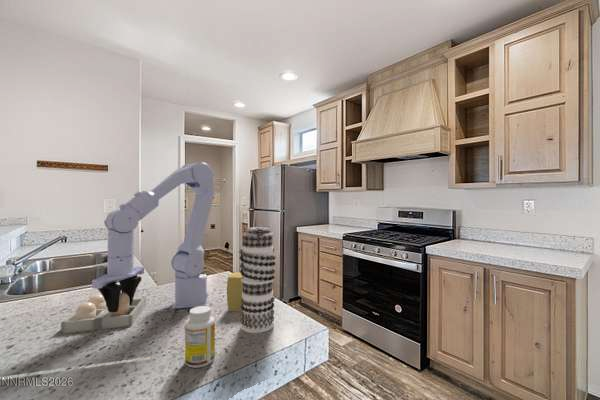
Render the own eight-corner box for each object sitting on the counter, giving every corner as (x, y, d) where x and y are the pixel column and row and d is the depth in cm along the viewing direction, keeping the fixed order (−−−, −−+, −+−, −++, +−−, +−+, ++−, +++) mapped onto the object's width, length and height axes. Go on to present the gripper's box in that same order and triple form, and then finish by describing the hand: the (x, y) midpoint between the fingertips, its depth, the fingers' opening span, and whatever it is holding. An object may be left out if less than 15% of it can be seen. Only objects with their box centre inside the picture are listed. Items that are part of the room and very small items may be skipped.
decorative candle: (238, 319, 74) (238, 226, 75) (272, 316, 77) (272, 226, 77) (239, 335, 65) (240, 229, 66) (278, 331, 68) (278, 229, 68)
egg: (120, 310, 74) (120, 290, 74) (133, 312, 74) (133, 291, 74) (107, 316, 70) (107, 294, 70) (120, 318, 70) (120, 295, 70)
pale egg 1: (98, 320, 72) (98, 299, 72) (91, 327, 68) (91, 304, 69) (80, 322, 71) (80, 300, 71) (72, 329, 67) (72, 306, 67)
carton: (145, 307, 83) (145, 297, 83) (131, 327, 69) (131, 315, 70) (87, 313, 78) (87, 302, 78) (61, 335, 65) (61, 322, 65)
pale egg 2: (108, 311, 78) (108, 291, 79) (102, 317, 75) (102, 296, 75) (91, 313, 77) (91, 292, 77) (84, 318, 74) (85, 297, 74)
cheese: (234, 299, 90) (235, 268, 90) (267, 299, 90) (268, 268, 90) (226, 312, 80) (226, 277, 80) (263, 312, 80) (263, 277, 80)
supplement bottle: (205, 350, 59) (205, 302, 59) (220, 360, 55) (220, 308, 55) (179, 362, 55) (179, 310, 55) (194, 373, 51) (194, 317, 51)
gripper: (110, 262, 64) (109, 321, 64) (153, 251, 79) (153, 299, 78) (84, 261, 66) (84, 318, 65) (132, 250, 80) (131, 298, 80)
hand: (120, 308), depth 72 cm, fingers closed on egg, 4 cm apart
